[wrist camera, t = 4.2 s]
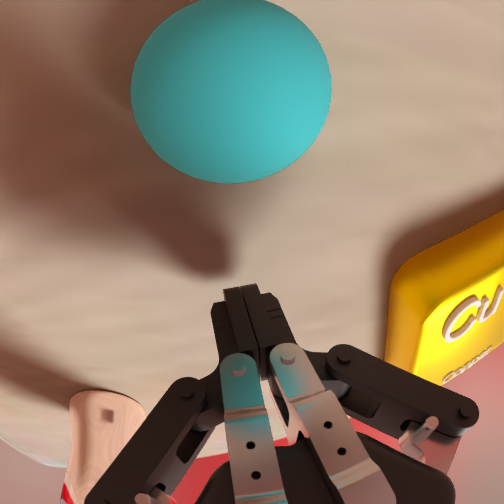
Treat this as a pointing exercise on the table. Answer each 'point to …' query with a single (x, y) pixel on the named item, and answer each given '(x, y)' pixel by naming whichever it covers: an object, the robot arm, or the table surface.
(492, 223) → the element tile
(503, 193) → the table surface
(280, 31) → the ball
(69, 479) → the silver metal tumbler
